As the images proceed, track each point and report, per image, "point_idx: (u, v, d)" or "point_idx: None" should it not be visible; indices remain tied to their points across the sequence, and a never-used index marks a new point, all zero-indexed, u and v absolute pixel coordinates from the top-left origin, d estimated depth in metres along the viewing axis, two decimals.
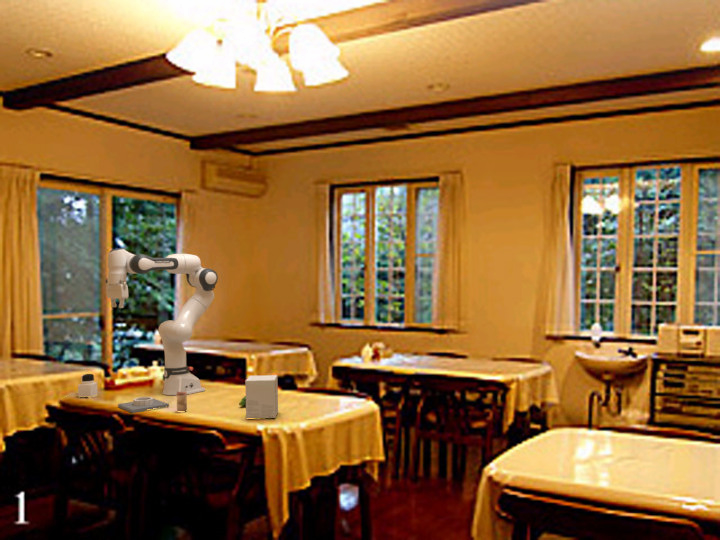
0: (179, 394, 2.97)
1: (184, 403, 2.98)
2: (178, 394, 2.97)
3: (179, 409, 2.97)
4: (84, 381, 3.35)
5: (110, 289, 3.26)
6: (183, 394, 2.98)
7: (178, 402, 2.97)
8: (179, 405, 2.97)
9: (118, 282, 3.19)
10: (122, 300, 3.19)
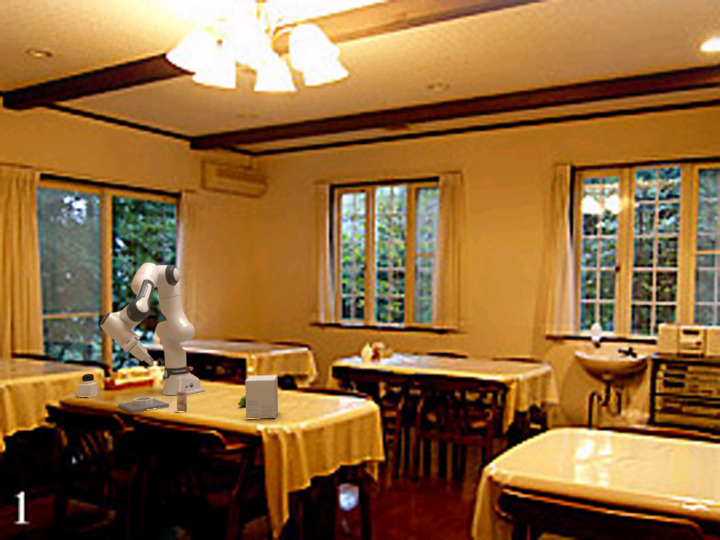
0: (179, 394, 2.97)
1: (184, 403, 2.98)
2: (178, 394, 2.97)
3: (179, 409, 2.97)
4: (84, 381, 3.35)
5: None
6: (183, 394, 2.98)
7: (178, 402, 2.97)
8: (179, 405, 2.97)
9: None
10: None
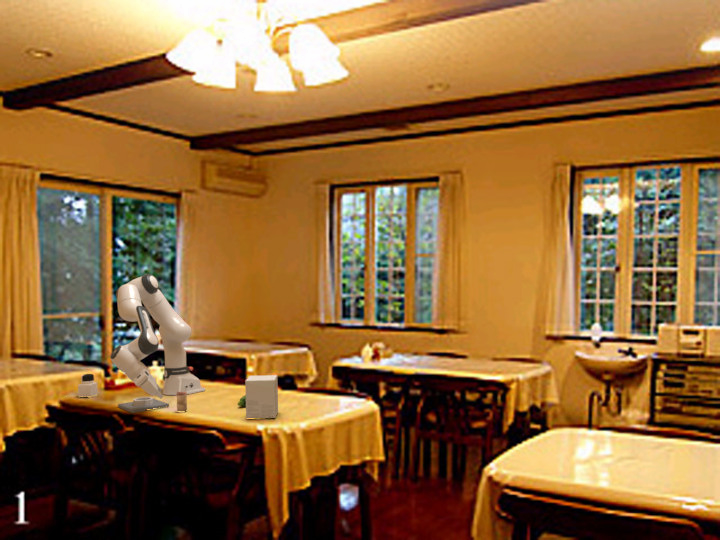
0: (179, 394, 2.97)
1: (184, 403, 2.98)
2: (178, 394, 2.97)
3: (179, 409, 2.97)
4: (84, 381, 3.35)
5: None
6: (183, 394, 2.98)
7: (178, 402, 2.97)
8: (179, 405, 2.97)
9: None
10: None
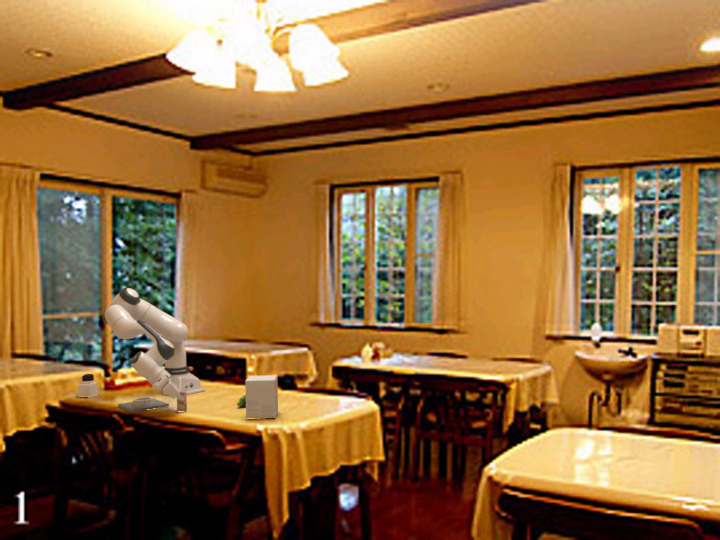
0: None
1: (184, 403, 2.98)
2: None
3: (179, 409, 2.97)
4: (84, 381, 3.35)
5: None
6: (183, 394, 2.98)
7: (178, 402, 2.97)
8: (179, 405, 2.97)
9: None
10: None
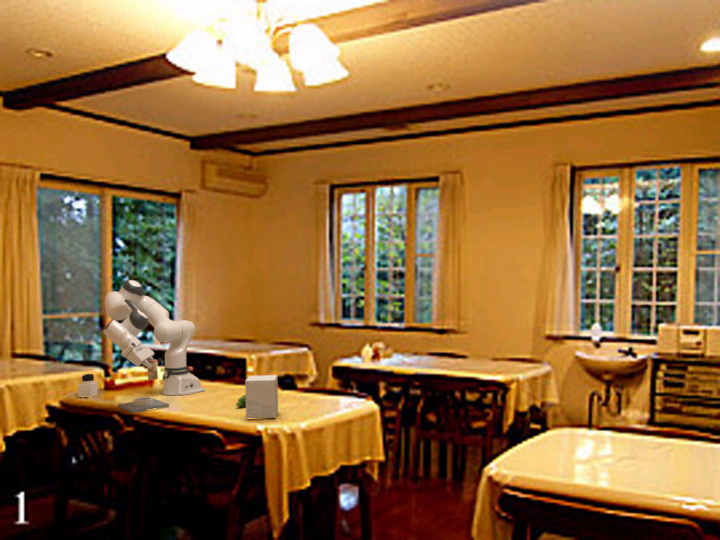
0: None
1: (153, 371, 3.05)
2: None
3: (149, 376, 3.05)
4: (84, 381, 3.35)
5: (138, 353, 3.01)
6: (152, 362, 3.04)
7: (148, 369, 3.05)
8: (148, 372, 3.05)
9: None
10: None
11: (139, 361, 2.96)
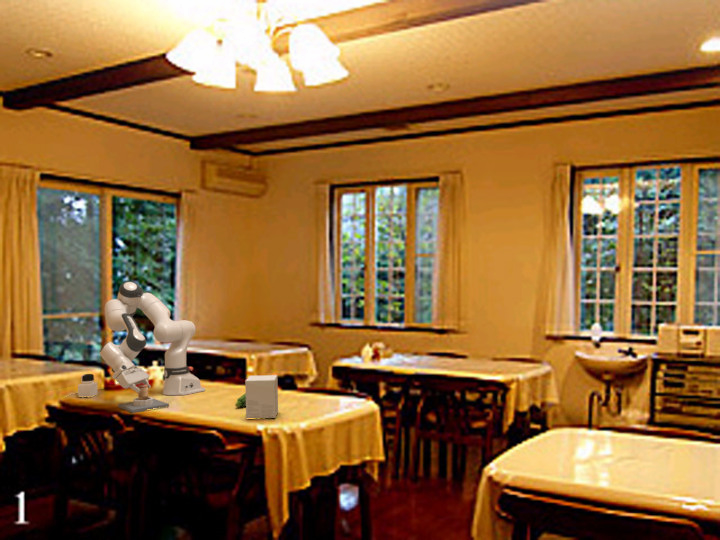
0: (138, 387, 3.09)
1: (143, 396, 3.09)
2: (138, 387, 3.09)
3: None
4: (84, 381, 3.35)
5: (128, 376, 3.06)
6: (142, 387, 3.08)
7: (138, 394, 3.09)
8: (139, 397, 3.09)
9: None
10: None
11: (126, 384, 3.01)
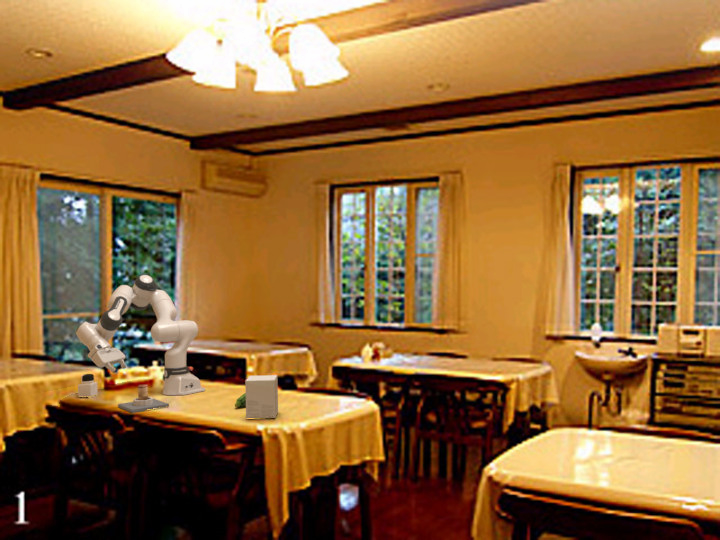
0: (138, 387, 3.09)
1: (143, 396, 3.09)
2: (138, 387, 3.09)
3: None
4: (84, 381, 3.35)
5: (103, 355, 3.08)
6: (141, 387, 3.08)
7: (138, 394, 3.09)
8: (139, 397, 3.09)
9: None
10: None
11: (101, 363, 3.03)
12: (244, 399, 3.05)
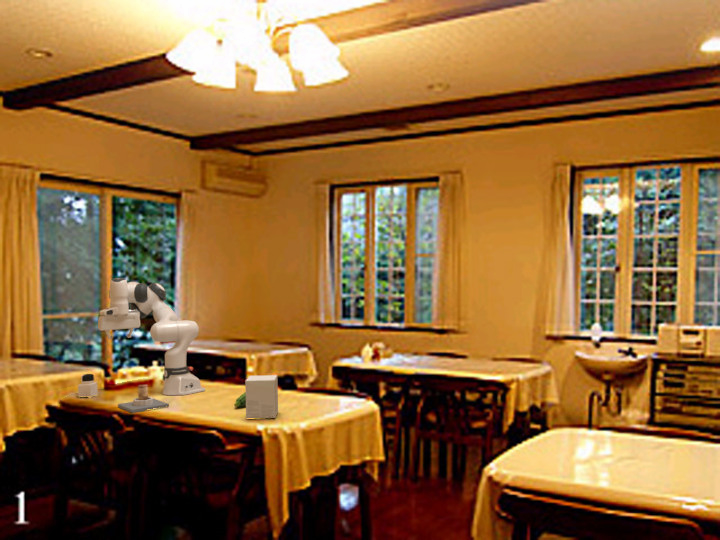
0: (138, 387, 3.09)
1: (143, 396, 3.09)
2: (138, 387, 3.09)
3: None
4: (84, 381, 3.35)
5: (109, 320, 3.11)
6: (142, 387, 3.09)
7: (138, 394, 3.09)
8: (139, 397, 3.09)
9: None
10: None
11: (99, 328, 3.09)
12: (243, 399, 3.05)
